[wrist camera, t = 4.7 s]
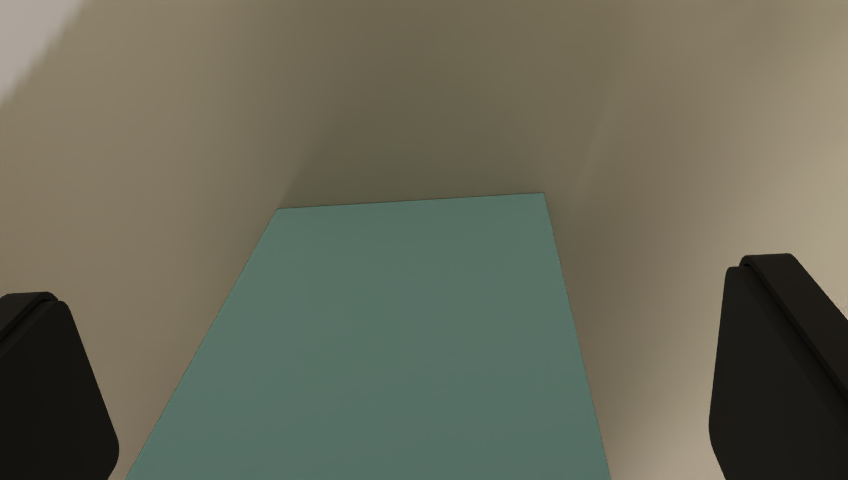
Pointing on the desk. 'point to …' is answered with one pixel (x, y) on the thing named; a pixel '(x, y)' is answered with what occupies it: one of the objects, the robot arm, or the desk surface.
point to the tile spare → (389, 354)
